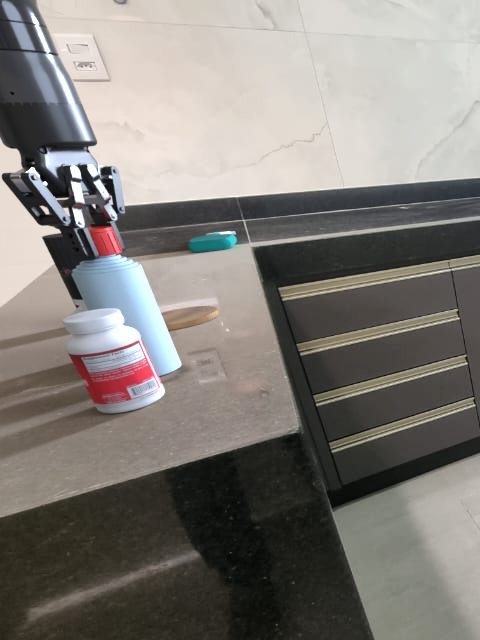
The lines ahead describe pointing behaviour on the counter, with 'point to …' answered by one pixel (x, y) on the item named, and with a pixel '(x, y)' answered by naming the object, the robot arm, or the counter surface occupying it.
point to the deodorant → (60, 254)
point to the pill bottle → (112, 361)
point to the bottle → (128, 303)
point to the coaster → (189, 316)
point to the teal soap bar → (213, 242)
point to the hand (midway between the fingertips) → (102, 255)
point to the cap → (105, 240)
